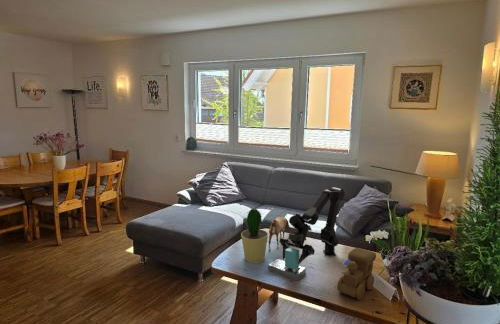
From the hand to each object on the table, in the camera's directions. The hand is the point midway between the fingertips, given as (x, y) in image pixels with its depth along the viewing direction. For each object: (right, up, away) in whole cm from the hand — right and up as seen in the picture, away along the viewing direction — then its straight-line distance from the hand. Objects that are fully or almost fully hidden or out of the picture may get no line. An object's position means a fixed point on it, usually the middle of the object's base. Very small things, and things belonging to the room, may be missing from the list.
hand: (290, 261), depth 162 cm
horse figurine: (0, -2, +36) cm, 36 cm away
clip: (+1, -7, +2) cm, 8 cm away
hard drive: (+37, -6, +13) cm, 39 cm away
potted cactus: (-18, -5, +20) cm, 28 cm away
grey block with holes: (-2, -7, +4) cm, 8 cm away
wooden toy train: (+29, -10, -13) cm, 33 cm away
